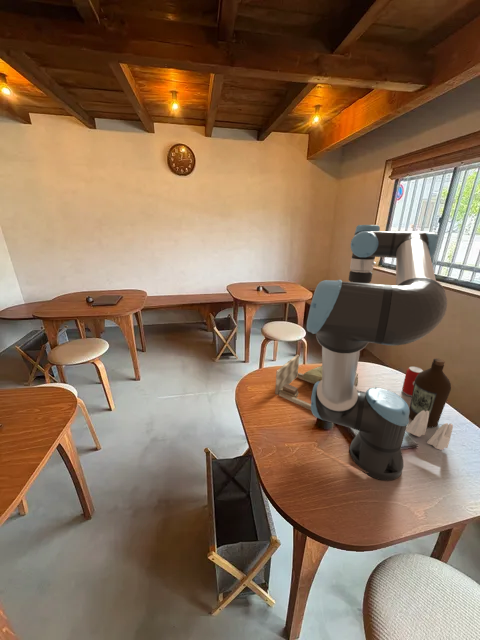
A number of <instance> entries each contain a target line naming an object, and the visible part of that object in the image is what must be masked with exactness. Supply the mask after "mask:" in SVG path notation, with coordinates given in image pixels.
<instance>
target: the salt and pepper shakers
mask: <svg viewBox="0 0 480 640" xmlns="http://www.w3.org/2000/svg"><path fill="white" fill-rule="evenodd" d="M428 418H429V411H426V412H425V411H424V410H423V411H421V412H419V413H418V414H417V415H416V416H415V418H414V420H413V421H412V420H411V422H410V423H408V424H407V427H406V430H405V432H407V433H409V434H412V435H414V436H416V437H418V438H420V437H422V436H425V435H426V432H427V428H428V427H427V423H428ZM453 427H454V425H453V424H452V423H447V422H446V423H443V424H442V425H441V426H439V427H438V428H437V429H436V431H435V432H434V434H433V435H432V436H431V437H430V438H429V439H428V440H427V441H426V443H427V444H428V445H431V446H433V447H434V448H435V449H437V450H440V451H442V450H443V451H444V449H448V447H449V443H450V440H451V437H452V433H453Z"/></svg>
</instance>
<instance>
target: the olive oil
mask: <svg viewBox="0 0 480 640" xmlns="http://www.w3.org/2000/svg"><path fill="white" fill-rule="evenodd" d="M444 367H445V360H444V359H442V358H437V357H435V358H433V361H432V362H431V366H430V368H428V369H425V370H423V371H422V372H420V373H419V374H418V375H417V377H416V378H415V382H414V388H413V393H412V397H411V399H410V404H409V410H410V413H409V419H410V420H411V422H412V421H413V420H414V418H415V416H416V415H417V414H418V413H419V412H421V411H423V410H424V411H425V412H426V411H429V418H428V423H427V428H435V427H437V426H438V425H439V422H440V419H441V416H442V413H443V410H444V407H445V405H446V404H447V401H448V398H449V395H450V393H451V390H452V383H451V380H450V379H449V377H448V376H447V375H446V374H445V372H444Z"/></svg>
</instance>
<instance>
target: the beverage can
mask: <svg viewBox="0 0 480 640" xmlns="http://www.w3.org/2000/svg"><path fill="white" fill-rule="evenodd" d="M422 371H424V370H423V369H422V368H421V367H419V366H409V367H408V368H407V369H406V371H405V376H404V378H403V379H404V380H403V385H402V389H401V390H402V392H403V394H405V395H406V396H408V397H411V398H412V393H413V388H414V382H415V378H416V377H417V375H418V374H419V373H420V372H422Z"/></svg>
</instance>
